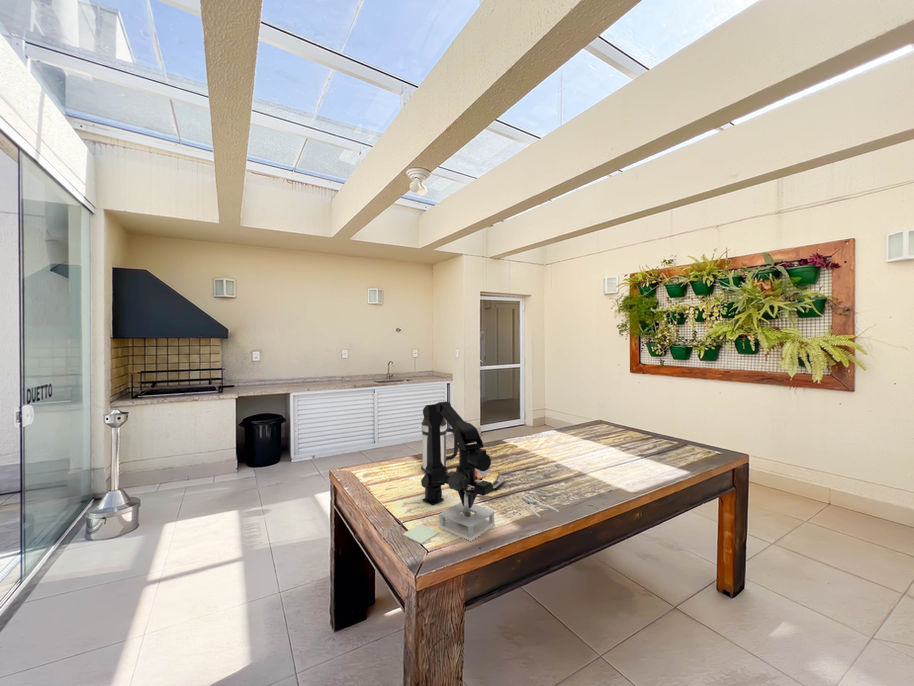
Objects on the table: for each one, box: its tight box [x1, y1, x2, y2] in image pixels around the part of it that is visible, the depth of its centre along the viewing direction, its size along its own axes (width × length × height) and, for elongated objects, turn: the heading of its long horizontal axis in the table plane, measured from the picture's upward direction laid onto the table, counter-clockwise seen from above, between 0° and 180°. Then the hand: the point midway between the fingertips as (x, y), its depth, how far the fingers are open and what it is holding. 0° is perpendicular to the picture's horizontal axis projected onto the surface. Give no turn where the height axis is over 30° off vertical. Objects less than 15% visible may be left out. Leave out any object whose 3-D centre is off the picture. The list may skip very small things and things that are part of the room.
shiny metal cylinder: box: [464, 487, 472, 517], centre depth 130 cm, size 2×2×10 cm
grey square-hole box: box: [438, 501, 496, 542], centre depth 130 cm, size 14×14×5 cm
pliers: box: [521, 495, 560, 518], centre depth 145 cm, size 10×2×15 cm
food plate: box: [468, 469, 506, 489], centre depth 171 cm, size 25×23×4 cm
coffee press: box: [419, 418, 459, 474], centre depth 186 cm, size 17×16×30 cm
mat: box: [401, 523, 441, 545], centre depth 124 cm, size 9×9×1 cm
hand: (467, 506), depth 130 cm, fingers closed on shiny metal cylinder, 2 cm apart
